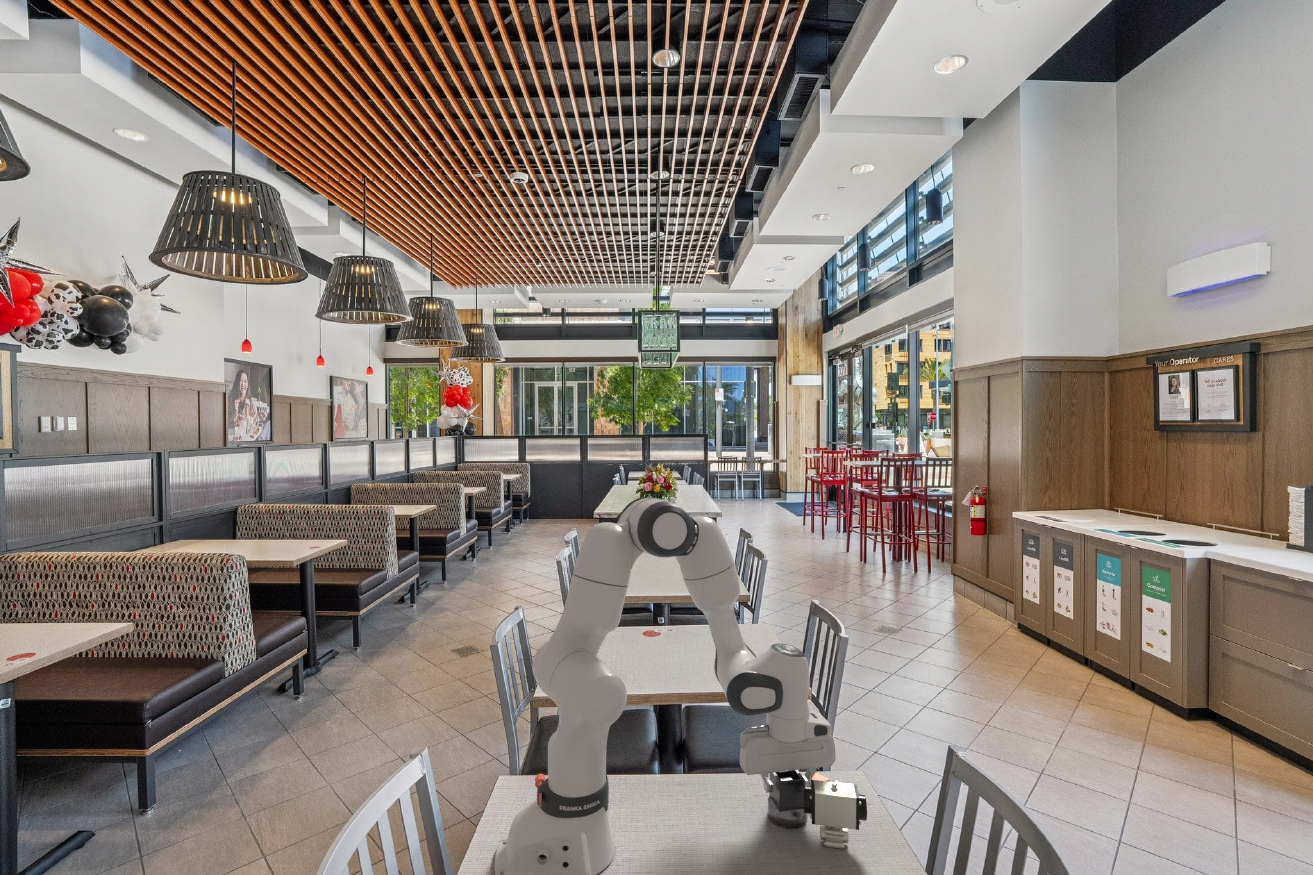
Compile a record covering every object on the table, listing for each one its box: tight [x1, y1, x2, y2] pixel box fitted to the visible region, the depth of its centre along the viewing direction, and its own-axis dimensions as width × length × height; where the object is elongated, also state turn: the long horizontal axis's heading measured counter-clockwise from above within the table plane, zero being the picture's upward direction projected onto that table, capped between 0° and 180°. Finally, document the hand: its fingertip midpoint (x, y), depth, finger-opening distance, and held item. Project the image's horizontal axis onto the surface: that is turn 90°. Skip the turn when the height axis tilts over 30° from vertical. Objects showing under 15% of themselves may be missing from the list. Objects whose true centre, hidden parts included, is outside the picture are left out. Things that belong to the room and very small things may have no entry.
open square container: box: [768, 770, 805, 812], centre depth 128 cm, size 6×6×6 cm
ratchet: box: [767, 772, 830, 830], centre depth 132 cm, size 18×8×8 cm, turn 136°
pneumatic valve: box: [803, 779, 868, 850], centre depth 120 cm, size 6×12×12 cm, turn 78°
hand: (787, 788), depth 128 cm, fingers open, 7 cm apart
